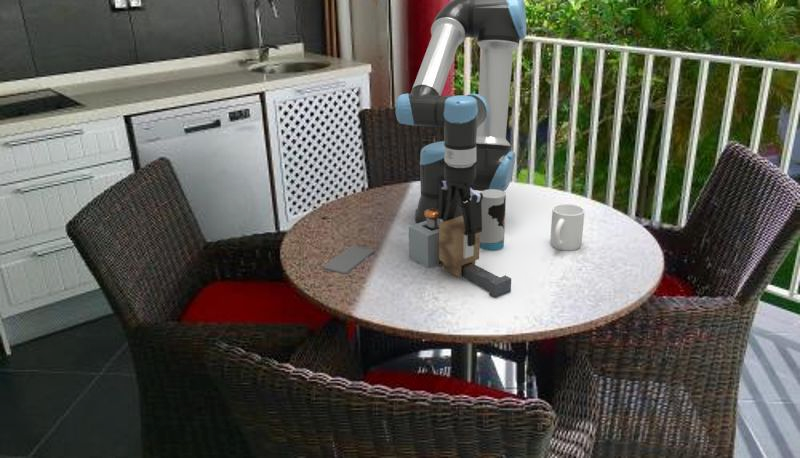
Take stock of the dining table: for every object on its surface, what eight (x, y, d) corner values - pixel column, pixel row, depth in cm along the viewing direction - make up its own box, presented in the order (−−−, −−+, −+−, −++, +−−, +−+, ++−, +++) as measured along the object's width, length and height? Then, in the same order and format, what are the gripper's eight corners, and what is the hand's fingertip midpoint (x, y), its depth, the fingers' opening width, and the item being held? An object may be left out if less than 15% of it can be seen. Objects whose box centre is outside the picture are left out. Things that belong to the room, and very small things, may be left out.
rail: (435, 265, 175) (435, 253, 173) (450, 260, 177) (450, 247, 176) (495, 298, 158) (495, 284, 157) (510, 291, 161) (511, 278, 160)
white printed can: (508, 248, 183) (510, 195, 177) (485, 252, 181) (487, 199, 175) (496, 238, 189) (498, 187, 183) (474, 242, 187) (475, 191, 181)
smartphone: (320, 267, 175) (352, 244, 187) (321, 270, 175) (352, 247, 187) (345, 273, 171) (376, 249, 183) (345, 276, 172) (376, 252, 183)
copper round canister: (421, 236, 177) (421, 211, 174) (434, 231, 179) (434, 207, 177) (432, 241, 174) (431, 216, 171) (445, 237, 176) (445, 212, 173)
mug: (569, 259, 176) (572, 222, 172) (539, 251, 181) (541, 215, 177) (586, 242, 185) (589, 207, 181) (557, 236, 190) (559, 201, 186)
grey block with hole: (409, 257, 179) (408, 226, 176) (438, 247, 185) (438, 216, 181) (428, 268, 173) (427, 235, 170) (457, 257, 179) (458, 225, 175)
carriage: (439, 270, 171) (439, 222, 166) (463, 261, 176) (463, 215, 170) (454, 278, 167) (455, 230, 162) (478, 269, 171) (480, 222, 166)
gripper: (422, 157, 165) (423, 243, 174) (475, 176, 151) (474, 269, 160) (446, 151, 169) (445, 236, 178) (500, 169, 155) (497, 260, 164)
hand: (459, 251), depth 169 cm, fingers closed on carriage, 6 cm apart
